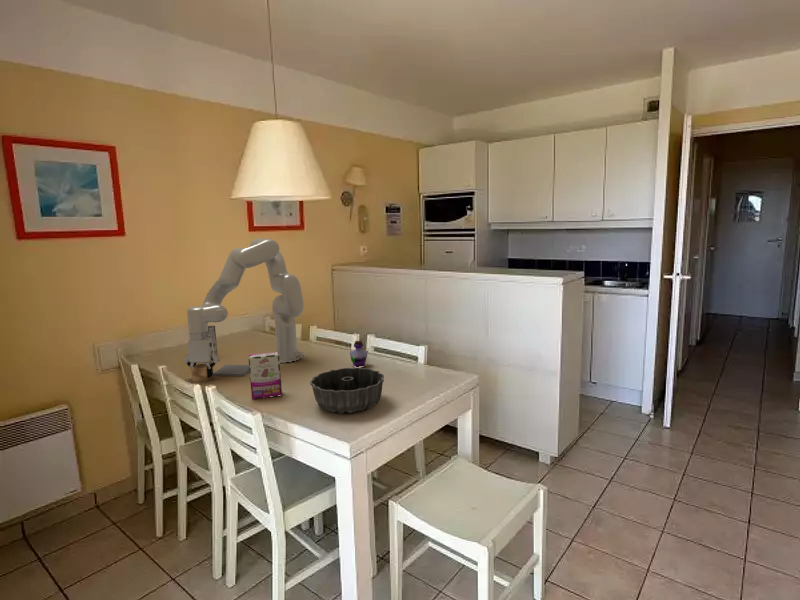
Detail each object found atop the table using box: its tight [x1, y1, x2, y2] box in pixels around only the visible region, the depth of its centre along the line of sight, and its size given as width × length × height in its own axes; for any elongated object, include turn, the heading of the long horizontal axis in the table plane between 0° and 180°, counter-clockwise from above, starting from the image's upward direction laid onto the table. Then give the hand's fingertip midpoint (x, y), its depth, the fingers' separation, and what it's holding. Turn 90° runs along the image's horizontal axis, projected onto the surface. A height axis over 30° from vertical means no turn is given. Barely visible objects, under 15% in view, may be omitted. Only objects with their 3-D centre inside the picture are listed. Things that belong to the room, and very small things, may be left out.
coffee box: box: [208, 325, 219, 362], centre depth 230 cm, size 9×6×16 cm
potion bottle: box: [349, 340, 369, 367], centre depth 213 cm, size 9×9×12 cm
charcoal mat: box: [213, 364, 250, 377], centre depth 210 cm, size 14×13×1 cm
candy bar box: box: [248, 351, 283, 400], centre depth 178 cm, size 11×5×16 cm, turn 105°
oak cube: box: [190, 363, 214, 383], centre depth 200 cm, size 6×6×6 cm
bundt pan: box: [309, 367, 385, 414], centre depth 169 cm, size 26×26×10 cm
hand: (202, 376), depth 200 cm, fingers closed on oak cube, 6 cm apart
